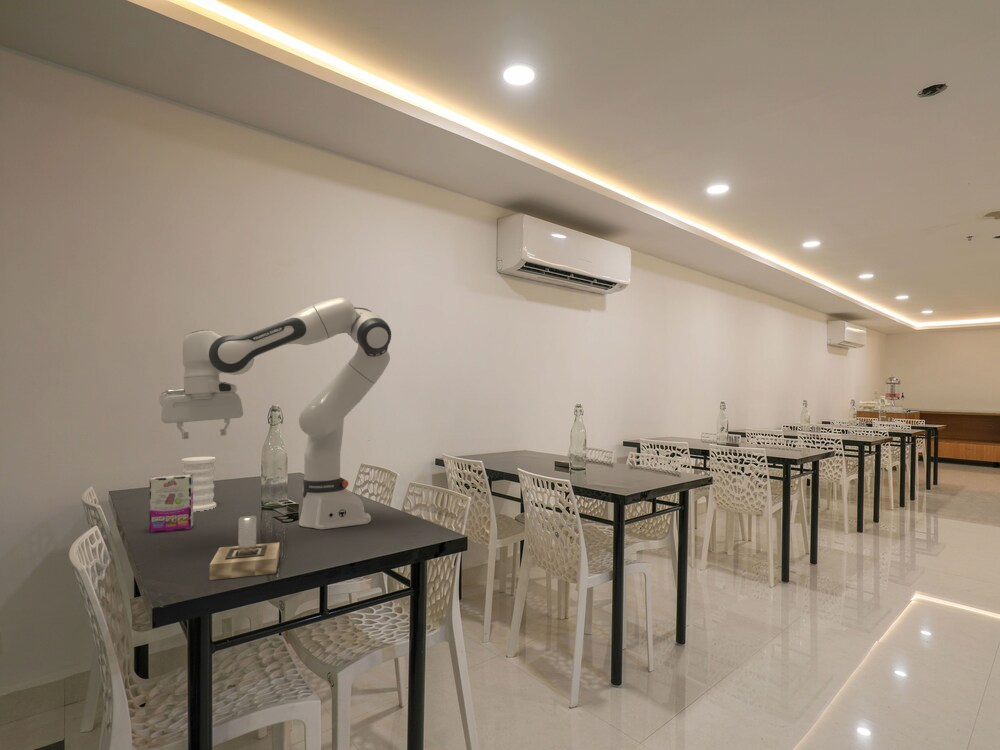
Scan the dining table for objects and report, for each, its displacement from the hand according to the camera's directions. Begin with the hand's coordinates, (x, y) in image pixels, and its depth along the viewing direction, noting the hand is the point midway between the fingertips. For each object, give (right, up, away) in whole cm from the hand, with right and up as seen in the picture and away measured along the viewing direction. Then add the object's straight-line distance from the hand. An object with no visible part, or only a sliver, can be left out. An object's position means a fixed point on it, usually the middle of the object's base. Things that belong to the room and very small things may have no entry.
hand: (204, 437), depth 154 cm
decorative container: (-26, -31, +44) cm, 60 cm away
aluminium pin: (+21, -29, -20) cm, 41 cm away
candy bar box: (-18, -30, +15) cm, 38 cm away
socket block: (+21, -29, -20) cm, 42 cm away
